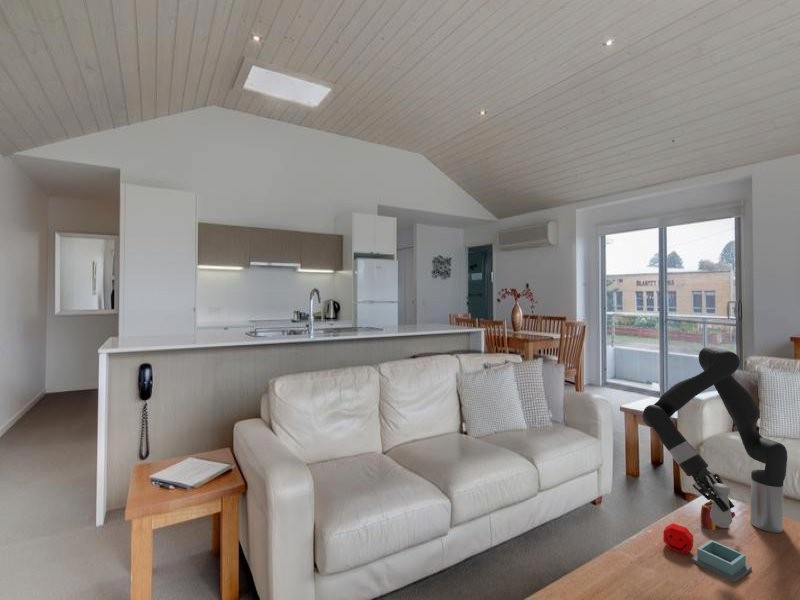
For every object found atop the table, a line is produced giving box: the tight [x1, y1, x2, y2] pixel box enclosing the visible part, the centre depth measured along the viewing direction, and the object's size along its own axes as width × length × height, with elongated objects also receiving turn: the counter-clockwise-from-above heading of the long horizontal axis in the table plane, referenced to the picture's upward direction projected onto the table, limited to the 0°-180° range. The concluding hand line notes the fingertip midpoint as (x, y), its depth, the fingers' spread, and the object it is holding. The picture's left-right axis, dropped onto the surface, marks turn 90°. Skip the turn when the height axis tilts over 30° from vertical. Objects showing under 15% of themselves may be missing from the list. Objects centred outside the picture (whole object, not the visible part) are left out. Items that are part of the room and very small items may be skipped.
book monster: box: [700, 500, 736, 532], centre depth 156 cm, size 11×9×12 cm
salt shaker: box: [710, 483, 733, 529], centre depth 135 cm, size 6×6×13 cm
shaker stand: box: [691, 539, 753, 583], centre depth 135 cm, size 12×12×4 cm
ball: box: [662, 523, 694, 555], centre depth 144 cm, size 8×8×8 cm
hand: (728, 509), depth 133 cm, fingers closed on salt shaker, 3 cm apart
